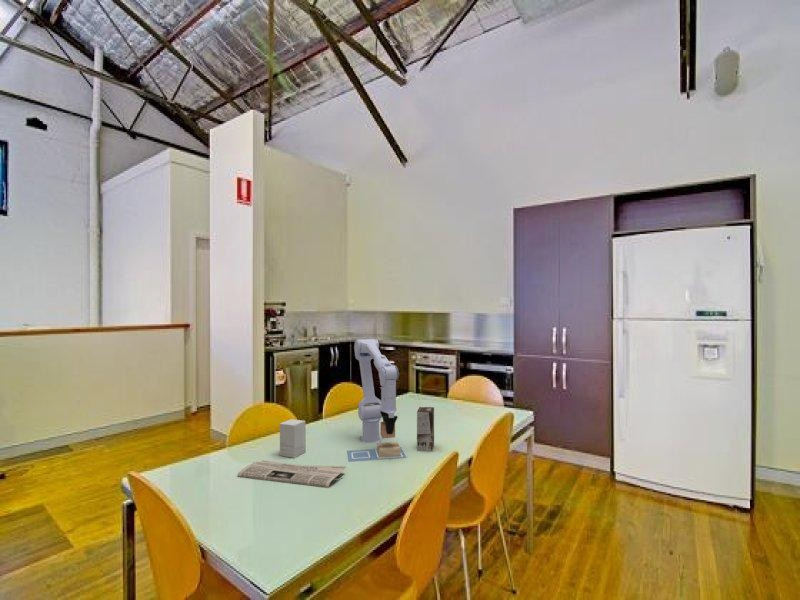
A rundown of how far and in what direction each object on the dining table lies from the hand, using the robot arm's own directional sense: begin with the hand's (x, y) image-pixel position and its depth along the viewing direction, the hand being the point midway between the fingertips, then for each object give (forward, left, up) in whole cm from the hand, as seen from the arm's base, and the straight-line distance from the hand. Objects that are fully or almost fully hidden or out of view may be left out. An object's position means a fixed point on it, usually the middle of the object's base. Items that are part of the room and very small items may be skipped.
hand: (388, 431), depth 162 cm
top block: (0, 0, -2) cm, 2 cm away
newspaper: (+13, -35, -10) cm, 39 cm away
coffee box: (-4, +16, -9) cm, 19 cm away
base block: (0, 0, -8) cm, 8 cm away
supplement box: (-8, -37, -9) cm, 39 cm away
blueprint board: (0, -5, -9) cm, 10 cm away
